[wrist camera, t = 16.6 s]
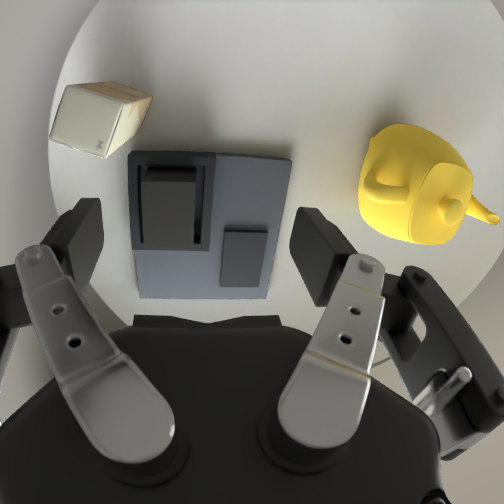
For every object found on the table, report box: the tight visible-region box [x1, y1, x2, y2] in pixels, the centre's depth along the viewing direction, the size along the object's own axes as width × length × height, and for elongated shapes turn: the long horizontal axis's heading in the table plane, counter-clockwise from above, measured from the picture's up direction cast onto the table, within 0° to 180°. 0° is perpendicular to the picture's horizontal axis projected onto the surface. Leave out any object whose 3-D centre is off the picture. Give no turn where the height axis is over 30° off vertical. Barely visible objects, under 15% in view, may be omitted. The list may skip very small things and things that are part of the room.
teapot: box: [358, 124, 499, 245], centre depth 29 cm, size 13×20×12 cm
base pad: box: [128, 151, 292, 299], centre depth 34 cm, size 17×19×3 cm
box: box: [49, 82, 153, 159], centre depth 21 cm, size 5×4×11 cm
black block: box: [141, 167, 196, 249], centre depth 29 cm, size 5×7×4 cm
